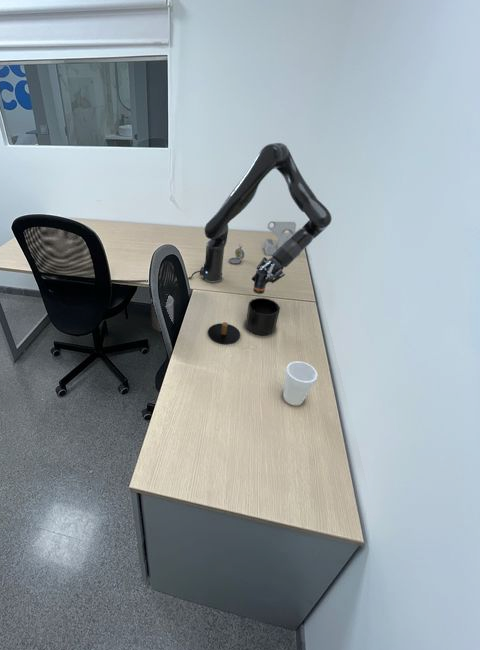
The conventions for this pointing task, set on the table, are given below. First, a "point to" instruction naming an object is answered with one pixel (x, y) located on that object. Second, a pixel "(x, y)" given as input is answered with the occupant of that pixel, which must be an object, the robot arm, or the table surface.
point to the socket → (258, 278)
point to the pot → (262, 316)
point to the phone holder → (279, 235)
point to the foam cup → (298, 382)
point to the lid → (224, 333)
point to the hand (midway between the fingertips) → (256, 283)
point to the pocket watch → (237, 252)
